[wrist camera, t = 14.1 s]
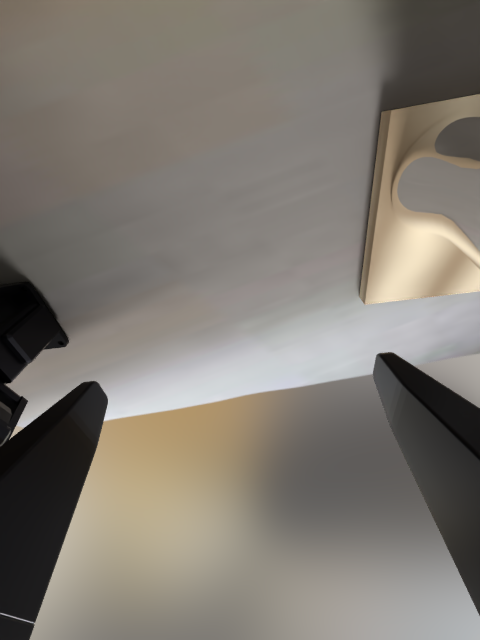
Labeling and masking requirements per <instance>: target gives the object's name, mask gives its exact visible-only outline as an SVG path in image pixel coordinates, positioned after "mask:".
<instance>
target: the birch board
mask: <svg viewBox="0 0 480 640" xmlns="http://www.w3.org/2000/svg"><path fill="white" fill-rule="evenodd" d="M465 112H480V94H476V95H471V96H465V97H460V98H454V99H449V100H444V101H438V102H433V103H427V104H422V105H416V106H411V107H405V108H400V109H394V110H389V111H383V112H382V113H381V121H380V130H379V138H378V146H377V154H376V163H375V171H374V179H373V187H372V196H371V204H370V212H369V221H368V229H367V237H366V245H365V254H364V262H363V270H362V278H361V287H360V295H359V297H360V298H361V300H362V301H363V303H364V304H365V305H366V304H374V303H383V302H391V301H400V300H408V299H417V298H426V297H434V296H443V295H451V294H460V293H469V292H477V291H480V270H479V269H478V268H477V267H476V266H475V265H474V264H473V263H472V262H471V260H470V259H469V258H468V257H467V256H466V255H465V254H464V253H463V252H462V251H461V250H460V249H459V248H458V247H457V246H455V245H454V244H453V243H452V242H451V241H449V240H448V239H446V238H444V237H442V236H439V235H435V234H430V233H425V232H421V231H417V230H414V229H412V228H410V227H408V226H406V225H405V224H404V223H403V222H402V221H401V220H400V219H399V218H398V216H397V215H396V213H395V211H394V208H393V204H392V185H393V181H394V177H395V174H396V171H397V169H398V167H399V165H400V163H401V161H402V159H403V157H404V156H405V154H406V153H407V151H408V150H409V149H410V147H411V146H412V145H413V144H414V143H415V142H416V141H417V139H418V138H419V137H421V136H422V135H423V134H424V133H425V132H426V131H427V130H429V129H430V128H431V127H433V126H434V125H436V124H437V123H439V122H441V121H443V120H445V119H447V118H449V117H451V116H454V115H457V114H460V113H465Z"/></svg>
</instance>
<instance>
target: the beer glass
mask: <svg viewBox="0 0 480 640" xmlns="http://www.w3.org/2000/svg"><path fill="white" fill-rule="evenodd" d="M392 204H393V208H394V211H395V213H396V215H397V216H398V218H399V219H400V220H401V221H402V222H403V223H404V224H405V225H406V226H408V227H410V228H412V229H414V230H417V231H421V232H425V233H430V234H435V235H439V236H442V237H444V238H446V239H448V240H449V241H451V242H452V243H453V244H454V245H455V246H457V247H458V248H459V249H460V250H461V251H462V252H463V253H464V254H465V255H466V256H467V257H468V258H469V259H470V260H471V262H472V263H473V264H474V265H475V266H476V267H477V268H478V269H479V270H480V112H465V113H460V114H457V115H454V116H451V117H449V118H447V119H445V120H443V121H441V122H439V123H437V124H436V125H434V126H433V127H431V128H430V129H429V130H427V131H426V132H425V133H424V134H423V135H422V136H421V137H419V138H418V139H417V141H416V142H415V143H414V144H413V145H412V146H411V147H410V149H409V150H408V151H407V153H406V154H405V156H404V157H403V159H402V161H401V163H400V165H399V167H398V169H397V171H396V174H395V177H394V181H393V185H392Z"/></svg>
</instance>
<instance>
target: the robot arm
mask: <svg viewBox="0 0 480 640" xmlns="http://www.w3.org/2000/svg"><path fill="white" fill-rule="evenodd" d="M25 288H26V289H27V290H26V289H25ZM68 343H69V340H68V338H67V337H66V335H65V334H64V332H63V331H62V329H61V328H60V326H59V325H58V323H57V322H56V321H55V319H54V318H53V316H52V315H51V313H50V312H49V310H48V309H47V307H46V306H45V304H44V303H43V301H42V300H41V298H40V297H39V295H38V294H37V292H36V291H35V289H34V288H33V286H32V285H31V284H29V283H27V282H19V283H12V284H5V285H0V640H29V639H30V636H31V633H32V630H33V628H34V623H35V621H36V618H37V616H38V613H39V610H40V607H41V605H42V602H43V599H44V596H45V593H46V590H47V588H48V585H49V582H50V579H51V576H52V573H53V570H54V568H55V565H56V562H57V559H58V556H59V553H60V551H61V548H62V545H63V542H64V539H65V536H66V534H67V531H68V528H69V525H70V522H71V520H72V517H73V514H74V511H75V508H76V505H77V503H78V500H79V497H80V494H81V491H82V488H83V486H84V483H85V480H86V477H87V474H88V471H89V469H90V466H91V463H92V460H93V457H94V454H95V451H96V448H97V445H98V441H99V437H100V433H101V429H102V425H103V421H104V417H105V413H106V409H107V404H108V398H107V396H106V394H105V393H104V391H103V390H102V388H101V387H100V385H99V384H98V383H97V382H96V381H90V382H83V383H81V384H80V385H79V386H77V387H76V388H75V389H74V390H72V391H71V392H70V393H68V394H67V395H66V396H65V397H63V398H62V399H61V400H59V401H58V402H57V403H56V404H54V405H53V406H52V407H50V408H49V409H48V410H47V411H45V412H44V413H43V414H41V415H40V416H39V417H38V418H36V419H35V420H34V421H33V422H31V423H30V424H29V425H27V426H26V427H25V428H24V429H22V430H21V431H20V432H18V433H17V434H16V435H15V436H13V437H12V438H11V439H10V437H11V435H12V433H13V431H14V429H15V427H16V425H17V422H18V420H19V418H20V416H21V414H22V412H23V410H24V408H25V406H26V404H27V402H28V400H26V399H25V398H24V397H23V396H21V397H20V396H19V395H18V394H16V393H15V392H14V391H13V390H11V389H10V388H9V387H8V386H6V384H7V383H11V382H12V381H13V380H14V379H15V378H16V377H17V376H18V375H19V374H20V373H21V371H22V370H23V369H24V368H25V367H26V366H27V365H28V364H29V363H31V362H32V361H33V360H34V359H35V358H36V357H37V356H38V355H39V354H40V353H41V351H42V350H43V349H52V348H61V347H66V346H67V344H68ZM373 378H374V381H375V384H376V387H377V390H378V393H379V396H380V399H381V402H382V405H383V408H384V410H385V413H386V416H387V419H388V422H389V425H390V427H391V429H392V432H393V434H394V436H395V438H396V440H397V442H398V445H399V447H400V449H401V451H402V453H403V455H404V457H405V459H406V461H407V464H408V466H409V468H410V470H411V472H412V474H413V476H414V478H415V480H416V482H417V484H418V487H419V489H420V491H421V493H422V495H423V497H424V499H425V501H426V503H427V506H428V508H429V510H430V512H431V514H432V516H433V518H434V520H435V522H436V525H437V527H438V528H439V531H440V533H441V535H442V537H443V539H444V542H445V544H446V546H447V548H448V550H449V552H450V554H451V556H452V558H453V560H454V563H455V565H456V567H457V568H458V571H459V573H460V575H461V577H462V579H463V582H464V584H465V586H466V588H467V590H468V592H469V594H470V596H471V598H472V601H473V603H474V605H475V607H476V609H477V611H478V613H479V615H480V408H478V407H477V406H475V405H474V404H472V403H471V402H469V401H468V400H466V399H464V398H463V397H461V396H460V395H458V394H457V393H455V392H453V391H452V390H450V389H449V388H447V387H446V386H444V385H442V384H441V383H439V382H438V381H436V380H435V379H433V378H432V377H430V376H429V375H427V374H425V373H424V372H422V371H421V370H419V369H418V368H416V367H415V366H413V365H412V364H410V363H408V362H407V361H405V360H404V359H402V358H401V357H399V356H398V355H396V354H394V353H392V352H388V353H379V354H377V356H376V360H375V365H374V370H373ZM9 439H10V440H9Z"/></svg>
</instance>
